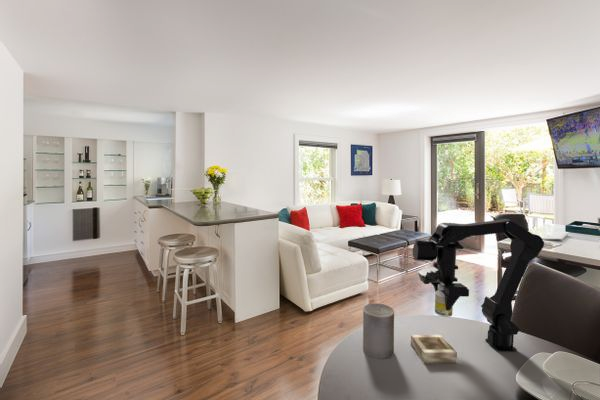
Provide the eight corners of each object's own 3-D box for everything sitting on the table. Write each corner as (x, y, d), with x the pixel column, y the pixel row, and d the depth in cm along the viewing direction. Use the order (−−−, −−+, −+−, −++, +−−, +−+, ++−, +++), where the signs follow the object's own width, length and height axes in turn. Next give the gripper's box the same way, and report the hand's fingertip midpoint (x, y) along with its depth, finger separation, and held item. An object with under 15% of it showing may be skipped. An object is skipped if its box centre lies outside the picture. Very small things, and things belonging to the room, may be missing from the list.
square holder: (440, 344, 98) (440, 334, 98) (456, 363, 88) (457, 352, 88) (410, 344, 98) (410, 334, 98) (423, 363, 88) (424, 352, 88)
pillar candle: (379, 339, 101) (379, 297, 100) (400, 354, 93) (401, 308, 92) (356, 346, 97) (356, 302, 96) (376, 363, 88) (377, 315, 87)
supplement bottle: (448, 310, 101) (450, 283, 100) (454, 318, 96) (456, 289, 95) (432, 309, 102) (433, 282, 101) (437, 316, 96) (439, 288, 96)
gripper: (411, 253, 107) (409, 295, 108) (434, 269, 88) (432, 319, 89) (441, 254, 107) (439, 295, 108) (471, 270, 88) (468, 320, 89)
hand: (443, 306), depth 98 cm, fingers closed on supplement bottle, 5 cm apart
